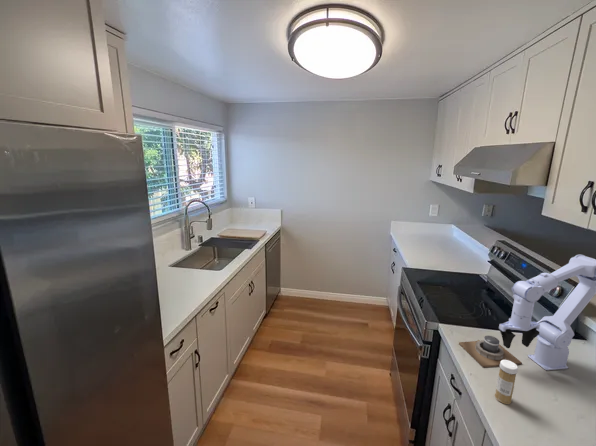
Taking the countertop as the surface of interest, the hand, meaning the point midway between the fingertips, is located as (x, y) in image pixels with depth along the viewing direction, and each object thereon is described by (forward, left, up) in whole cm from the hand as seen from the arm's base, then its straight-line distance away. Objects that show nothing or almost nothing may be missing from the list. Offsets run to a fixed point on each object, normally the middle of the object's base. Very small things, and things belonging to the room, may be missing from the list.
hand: (515, 346), depth 106 cm
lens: (+4, -7, -8) cm, 11 cm away
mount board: (+4, -7, -8) cm, 12 cm away
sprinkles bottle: (+16, +14, -9) cm, 23 cm away
